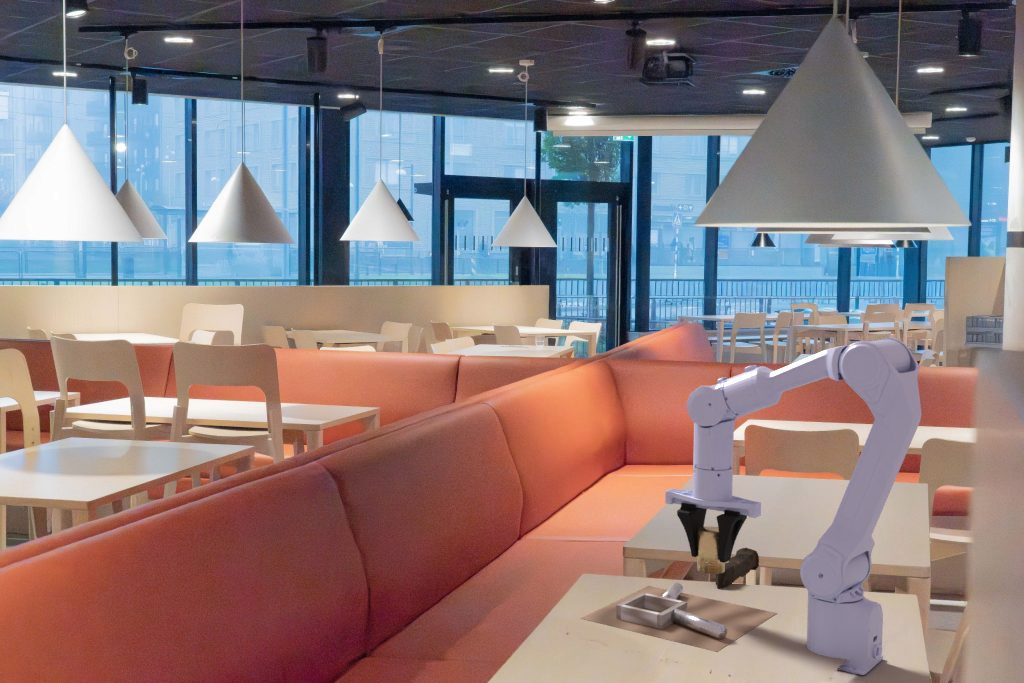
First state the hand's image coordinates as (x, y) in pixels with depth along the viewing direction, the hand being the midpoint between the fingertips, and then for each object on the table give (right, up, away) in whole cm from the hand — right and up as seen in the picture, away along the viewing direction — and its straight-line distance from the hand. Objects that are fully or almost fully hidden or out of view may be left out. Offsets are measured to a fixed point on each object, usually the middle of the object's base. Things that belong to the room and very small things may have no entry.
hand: (710, 558), depth 157 cm
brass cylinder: (0, -2, 0) cm, 2 cm away
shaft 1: (-5, -8, +7) cm, 12 cm away
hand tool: (+9, -9, +23) cm, 26 cm away
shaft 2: (-3, -9, -5) cm, 11 cm away
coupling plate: (-4, -10, +1) cm, 11 cm away
